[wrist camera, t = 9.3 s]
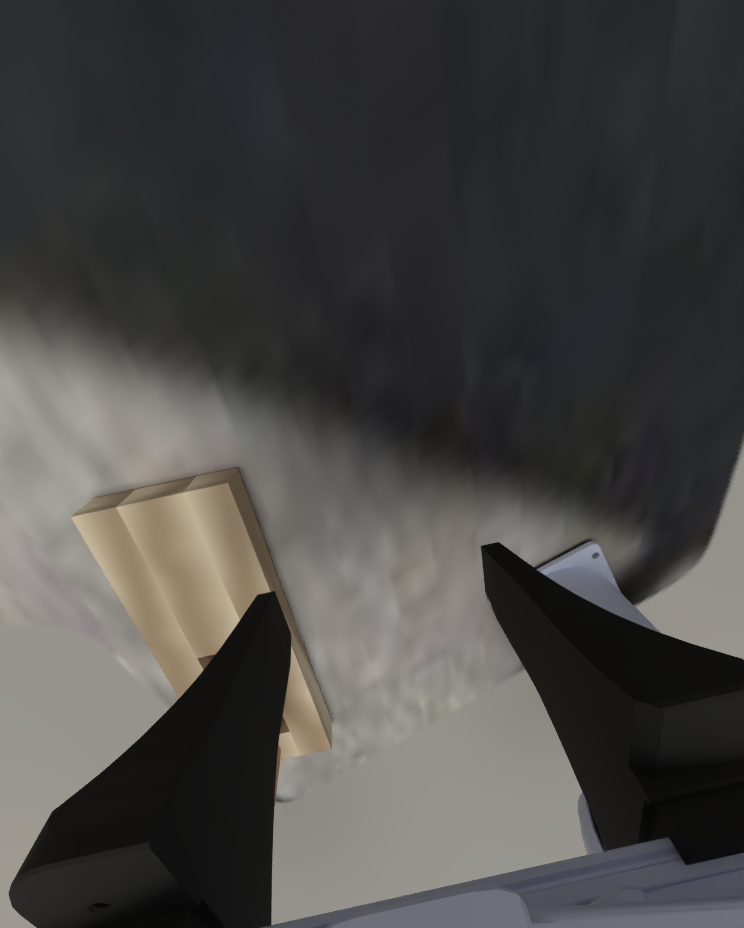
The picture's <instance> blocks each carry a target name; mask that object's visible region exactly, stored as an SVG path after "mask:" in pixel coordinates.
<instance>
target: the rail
mask: <svg viewBox="0 0 744 928" xmlns="http://www.w3.org/2000/svg"><path fill="white" fill-rule="evenodd" d="M71 518H72V520H73V522H74V523H75V525H76V527H77V528H78V530H79V532H80V533H81V535H82V537H83V538H84V540H85V542H86V543H87V545H88V547H89V548H90V550H91V552H92V553H93V555H94V557H95V558H96V560H97V562H98V563H99V565H100V567H101V568H102V570H103V572H104V573H105V575H106V577H107V578H108V580H109V582H110V583H111V585H112V587H113V588H114V590H115V592H116V593H117V595H118V597H119V598H120V600H121V602H122V604H123V605H124V607H125V609H126V610H127V612H128V614H129V615H130V617H131V619H132V620H133V622H134V624H135V625H136V627H137V629H138V630H139V632H140V634H141V635H142V637H143V639H144V640H145V642H146V644H147V645H148V647H149V649H150V650H151V652H152V654H153V655H154V657H155V659H156V660H157V662H158V664H159V665H160V667H161V669H162V670H163V672H164V674H165V675H166V677H167V679H168V680H169V682H170V684H171V685H172V687H173V689H174V690H175V692H176V694H177V695H178V697H179V698H180V697H181V696H182V695H183V694H184V692H185V691H186V690H187V689H188V688H189V687H190V686H191V685H192V683H193V682H194V681H195V680H196V679H197V677H198V676H199V675H200V674H201V673H202V671H203V670H204V669H205V667H206V666H207V665H208V664H209V662H210V661H211V660H212V658H213V657H214V656H215V654H216V653H217V652H218V651H219V649H220V648H221V647H222V645H223V644H224V642H225V641H226V640H227V638H228V637H229V635H230V634H231V632H232V631H233V630H234V628H235V627H236V625H237V624H238V622H239V621H240V619H241V618H242V616H243V615H244V613H245V612H246V610H247V609H248V608H249V606H250V605H251V603H252V602H253V600H254V599H255V597H256V596H257V595H258V594H263V593H267V592H272V591H275V593H276V595H277V598H278V600H279V603H280V606H281V608H282V611H283V613H284V616H285V619H286V621H287V624H288V627H289V629H290V632H291V634H292V635H291V665H290V672H289V678H288V685H287V691H286V698H285V704H284V710H283V717H282V723H281V729H280V735H279V744H278V745H279V747H280V749H281V757H280V760H283V759H287V758H292V757H296V756H301V755H305V754H310V753H315V752H319V751H324V750H328V749H331V748H332V720H331V718H330V715H329V712H328V710H327V707H326V704H325V701H324V699H323V696H322V693H321V691H320V688H319V685H318V683H317V680H316V677H315V675H314V672H313V669H312V666H311V664H310V661H309V658H308V656H307V653H306V650H305V648H304V645H303V642H302V639H301V637H300V634H299V631H298V629H297V626H296V623H295V621H294V618H293V615H292V613H291V610H290V607H289V604H288V602H287V599H286V596H285V594H284V591H283V588H282V586H281V583H280V580H279V577H278V575H277V572H276V569H275V567H274V564H273V561H272V559H271V556H270V553H269V551H268V548H267V545H266V542H265V540H264V537H263V534H262V532H261V529H260V526H259V524H258V521H257V518H256V515H255V513H254V510H253V507H252V505H251V502H250V499H249V497H248V494H247V491H246V489H245V486H244V483H243V480H242V478H241V475H240V472H239V470H238V467H236V468H232V469H227V470H223V471H218V472H213V473H209V474H204V475H199V476H195V477H190V478H186V479H181V480H176V481H172V482H167V483H162V484H158V485H153V486H149V487H144V488H139V489H135V490H130V491H125V492H121V493H116V494H111V495H107V496H102V497H98V498H94V499H93V500H91V501H90V502H89V503H88V504H86V505H85V506H84V507H83V508H81V509H80V510H79V511H78V512H76V513H75V514H74V515H72V516H71Z"/></svg>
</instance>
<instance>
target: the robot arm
mask: <svg viewBox="0 0 744 928" xmlns="http://www.w3.org/2000/svg"><path fill="white" fill-rule="evenodd" d="M481 551H482V561H483V572H484V582H485V592H486V594H487V597H488V602H489V604H490V606H491V607H492V609H493V611H494V613H495V616H496V618H497V620H498V622H499V624H500V625H501V627H502V629H503V631H504V633H505V634H506V636H507V638H508V640H509V641H510V643H511V645H512V647H513V648H514V650H515V652H516V654H517V655H518V657H519V659H520V660H521V662H522V664H523V666H524V667H525V669H526V671H527V673H528V674H529V676H530V678H531V680H532V681H533V683H534V685H535V687H536V689H537V691H538V693H539V695H540V697H541V699H542V701H543V703H544V706H545V707H546V710H547V712H548V714H549V717H550V719H551V721H552V723H553V725H554V727H555V730H556V732H557V734H558V736H559V739H560V741H561V743H562V745H563V748H564V750H565V752H566V754H567V757H568V759H569V761H570V764H571V766H572V768H573V771H574V773H575V775H576V778H577V780H578V782H579V785H580V787H581V789H582V794H581V795H580V797H579V801H578V814H579V820H580V825H581V832H582V837H583V841H584V844H585V848H586V851H587V854H588V855H586V856H581V857H577V858H572V859H567V860H563V861H558V862H555V863H549V864H545V865H541V866H536V867H532V868H527V869H522V870H518V871H514V872H509V873H505V874H500V875H496V876H491V877H487V878H482V879H478V880H473V881H469V882H464V883H460V884H455V885H451V886H446V887H442V888H437V889H433V890H428V891H424V892H419V893H415V894H411V895H406V896H401V897H397V898H392V899H388V900H383V901H379V902H375V903H370V904H365V905H361V906H356V907H352V908H348V909H343V910H338V911H334V912H330V913H325V914H321V915H316V916H311V917H307V918H302V919H298V920H294V921H289V922H284V923H280V924H275V925H271V898H272V891H271V890H272V848H273V820H274V800H275V782H276V767H277V752H278V744H279V735H280V729H281V723H282V717H283V710H284V704H285V698H286V691H287V685H288V678H289V672H290V665H291V635H292V634H291V632H290V629H289V627H288V624H287V621H286V619H285V616H284V613H283V611H282V608H281V606H280V603H279V600H278V598H277V595H276V593H275V591H272V592H267V593H263V594H258V595H257V596H256V597H255V599H254V600H253V602H252V603H251V605H250V606H249V608H248V609H247V610H246V612H245V613H244V615H243V616H242V618H241V619H240V621H239V622H238V624H237V625H236V627H235V628H234V630H233V631H232V632H231V634H230V635H229V637H228V638H227V640H226V641H225V642H224V644H223V645H222V647H221V648H220V649H219V651H218V652H217V653H216V654H215V656H214V657H213V658H212V660H211V661H210V662H209V664H208V665H207V666H206V667H205V669H204V670H203V671H202V673H201V674H200V675H199V676H198V677H197V679H196V680H195V681H194V682H193V683H192V685H191V686H190V687H189V688H188V689H187V690H186V691H185V692H184V694H183V695H182V696H181V697H180V698H179V699H178V700H177V701H176V703H175V704H174V705H173V706H172V707H171V708H170V709H169V710H168V711H167V712H166V713H165V714H164V715H163V716H162V717H161V718H160V719H159V720H158V721H157V722H156V723H155V724H154V725H153V726H152V727H151V728H150V729H149V730H148V731H147V732H146V733H145V734H144V735H143V736H142V737H141V738H140V739H139V740H137V742H135V743H134V744H133V745H132V746H131V747H130V748H129V749H128V750H127V751H126V752H124V753H123V754H122V755H121V756H120V757H119V758H118V759H116V760H115V761H114V762H113V763H112V764H111V765H110V766H109V767H107V768H106V769H105V770H104V771H103V772H101V773H100V774H99V775H98V776H97V777H95V778H94V779H93V780H92V781H90V782H89V783H88V784H87V785H85V786H84V787H83V788H82V789H80V790H79V791H78V792H77V793H75V794H74V795H73V796H72V797H70V798H69V799H68V800H67V801H65V802H64V803H63V804H62V805H60V806H59V807H58V808H56V809H55V810H54V811H53V812H52V813H51V815H50V816H49V818H48V820H47V822H46V824H45V825H44V827H43V829H42V831H41V832H40V834H39V836H38V838H37V840H36V841H35V843H34V845H33V847H32V848H31V850H30V852H29V854H28V855H27V857H26V859H25V861H24V863H23V864H22V866H21V868H20V870H19V872H18V873H17V875H16V877H15V879H14V880H13V882H12V884H11V887H10V890H9V897H10V900H11V904H12V907H13V908H14V909H15V910H16V911H17V912H18V913H19V914H20V915H21V916H22V917H24V918H25V919H26V920H28V921H29V922H30V923H31V924H33V925H34V926H35V927H37V928H744V660H743V659H741V658H738V657H734V656H731V655H727V654H724V653H721V652H717V651H713V650H710V649H707V648H704V647H700V646H697V645H694V644H691V643H688V642H685V641H682V640H679V639H676V638H673V637H670V636H667V635H665V634H662V633H660V632H659V631H658V630H657V629H656V628H655V627H654V626H653V625H652V624H651V623H650V622H649V621H648V620H647V619H646V618H645V617H644V616H643V615H642V614H641V613H640V612H639V611H638V610H637V609H636V608H635V607H634V606H633V605H632V604H631V603H630V602H629V601H628V600H627V599H626V598H625V597H624V596H623V594H622V593H621V592H620V590H619V588H618V585H617V583H616V581H615V579H614V577H613V574H612V572H611V570H610V568H609V565H608V563H607V561H606V559H605V557H604V554H603V552H602V550H601V548H600V546H599V545H598V544H597V543H596V542H594V541H589V542H587V543H585V544H583V545H581V546H579V547H577V548H576V549H574V550H572V551H570V552H568V553H566V554H564V555H562V556H561V557H559V558H557V559H555V560H553V561H551V562H549V563H547V564H546V565H544V566H542V567H540V568H538V569H535V568H534V567H532V566H531V565H529V564H528V563H527V562H525V561H524V560H522V559H521V558H520V557H518V556H517V555H516V554H514V553H513V552H511V551H510V550H509V549H507V548H506V547H505V546H503V545H502V544H500V543H499V542H497V543H492V544H488V545H483V546H481ZM594 553H595V554H594ZM593 554H594V555H593Z"/></svg>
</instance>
